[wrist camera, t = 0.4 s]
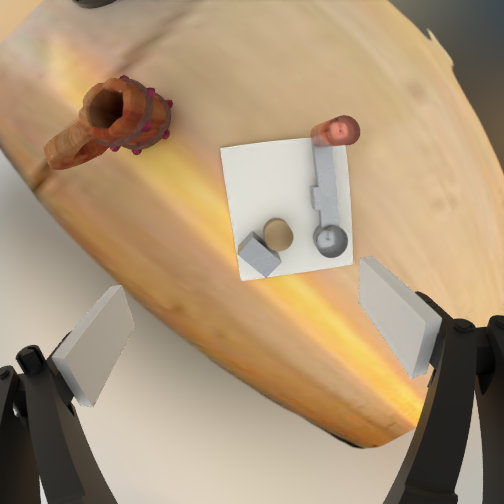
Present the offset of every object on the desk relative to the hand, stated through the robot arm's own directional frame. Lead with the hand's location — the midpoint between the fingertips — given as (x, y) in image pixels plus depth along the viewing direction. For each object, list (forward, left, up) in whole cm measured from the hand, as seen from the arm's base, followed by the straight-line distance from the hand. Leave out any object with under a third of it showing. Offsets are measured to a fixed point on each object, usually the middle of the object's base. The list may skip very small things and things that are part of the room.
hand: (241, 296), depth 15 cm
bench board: (+1, +7, -26) cm, 27 cm away
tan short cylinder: (+3, +4, -25) cm, 25 cm away
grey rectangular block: (+6, +1, -25) cm, 25 cm away
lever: (-1, +11, -24) cm, 26 cm away
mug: (-14, -14, -26) cm, 32 cm away
